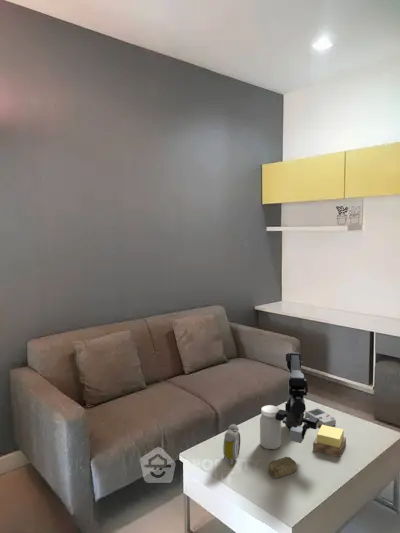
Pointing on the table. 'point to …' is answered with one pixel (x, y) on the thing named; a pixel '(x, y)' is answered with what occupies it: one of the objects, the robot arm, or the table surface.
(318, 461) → the table surface
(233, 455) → the alarm clock
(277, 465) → the stone block
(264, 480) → the table surface
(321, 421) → the handheld gaming device
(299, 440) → the gray cube
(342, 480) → the table surface
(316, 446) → the tower base slab
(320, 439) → the tower top slab
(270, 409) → the jar
